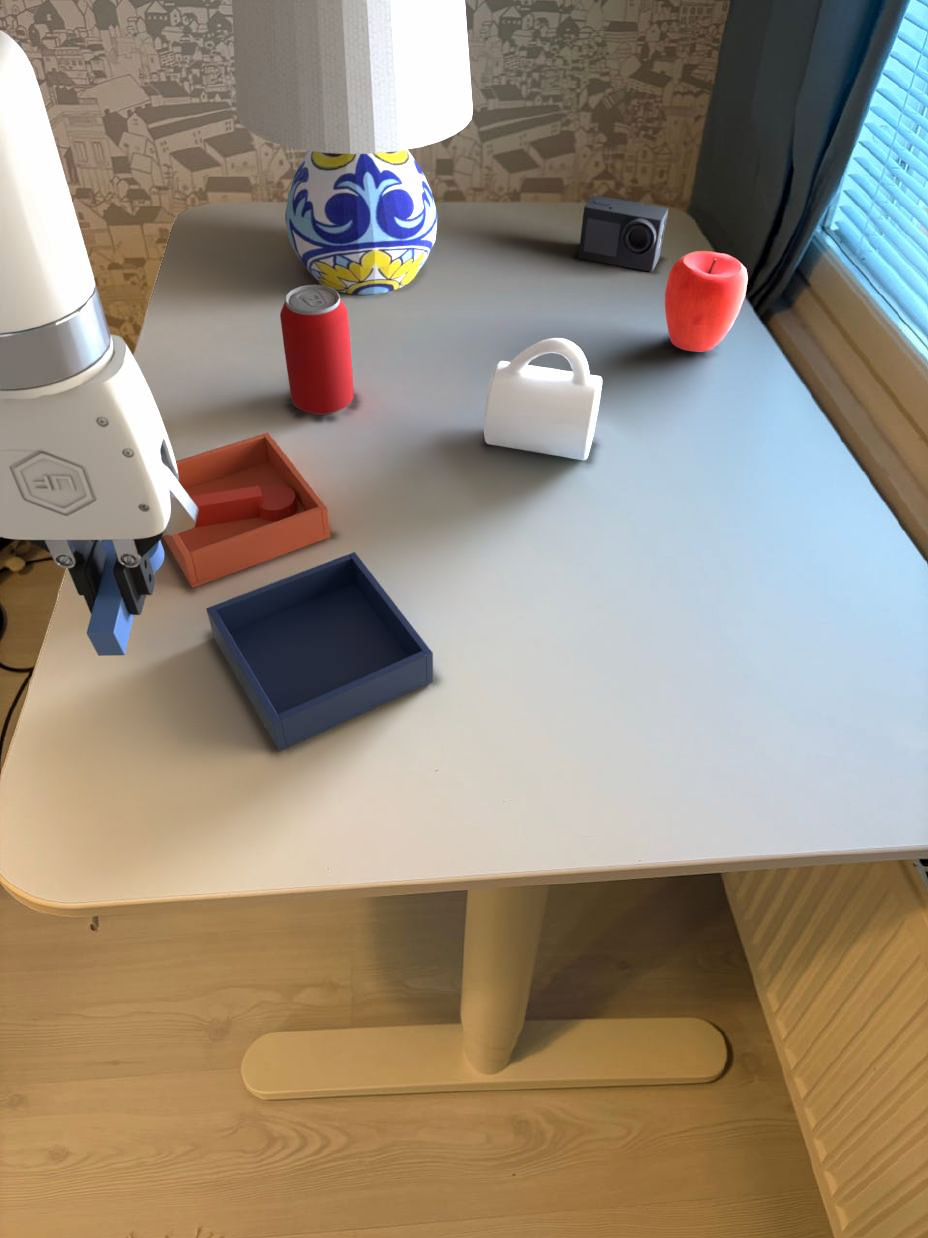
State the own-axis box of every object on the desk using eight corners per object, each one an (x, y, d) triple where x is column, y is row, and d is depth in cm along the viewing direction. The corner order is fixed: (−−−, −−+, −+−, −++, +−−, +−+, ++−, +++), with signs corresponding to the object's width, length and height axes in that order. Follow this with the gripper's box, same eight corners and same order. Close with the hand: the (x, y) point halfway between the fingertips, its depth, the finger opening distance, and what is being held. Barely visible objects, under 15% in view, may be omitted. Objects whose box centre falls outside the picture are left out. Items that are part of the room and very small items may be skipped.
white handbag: (499, 414, 98) (506, 310, 89) (595, 430, 96) (611, 326, 87) (481, 459, 92) (487, 353, 83) (582, 477, 91) (598, 370, 82)
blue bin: (279, 752, 67) (273, 723, 65) (213, 637, 75) (205, 608, 72) (433, 681, 72) (433, 652, 70) (357, 580, 80) (354, 551, 77)
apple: (675, 371, 104) (695, 281, 97) (642, 333, 110) (658, 245, 102) (743, 359, 107) (768, 270, 99) (707, 323, 112) (727, 236, 104)
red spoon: (196, 535, 83) (190, 515, 81) (192, 509, 85) (187, 489, 83) (300, 517, 85) (297, 497, 83) (293, 492, 87) (290, 472, 85)
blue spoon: (143, 655, 55) (132, 633, 53) (79, 656, 55) (66, 633, 53) (169, 536, 61) (160, 512, 59) (111, 537, 61) (100, 512, 59)
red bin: (192, 588, 79) (184, 558, 76) (143, 503, 86) (134, 473, 84) (330, 537, 84) (327, 507, 81) (272, 460, 91) (268, 431, 89)
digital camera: (574, 261, 123) (580, 209, 117) (585, 245, 126) (591, 193, 121) (650, 276, 120) (660, 223, 115) (659, 258, 124) (668, 206, 119)
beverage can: (337, 378, 102) (328, 275, 93) (365, 408, 98) (358, 304, 89) (281, 394, 99) (266, 290, 90) (307, 426, 95) (294, 321, 87)
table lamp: (270, 331, 108) (209, -90, 79) (251, 232, 126) (197, -142, 97) (490, 310, 113) (511, -95, 84) (443, 217, 131) (446, -143, 102)
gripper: (-180, 373, 41) (-26, 645, 54) (176, 374, 41) (240, 643, 55) (-113, 291, 46) (12, 558, 59) (203, 292, 46) (256, 557, 60)
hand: (121, 597), depth 57 cm, fingers closed on blue spoon, 1 cm apart
